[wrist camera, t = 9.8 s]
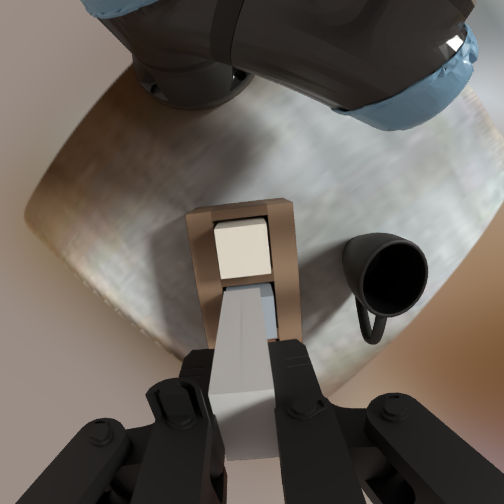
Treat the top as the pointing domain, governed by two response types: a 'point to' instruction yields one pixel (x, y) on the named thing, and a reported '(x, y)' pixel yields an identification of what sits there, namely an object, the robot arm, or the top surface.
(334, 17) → the robot arm
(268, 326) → the slate key
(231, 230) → the ivory key
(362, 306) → the mug
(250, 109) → the top surface
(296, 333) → the brown wooden block
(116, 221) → the top surface
